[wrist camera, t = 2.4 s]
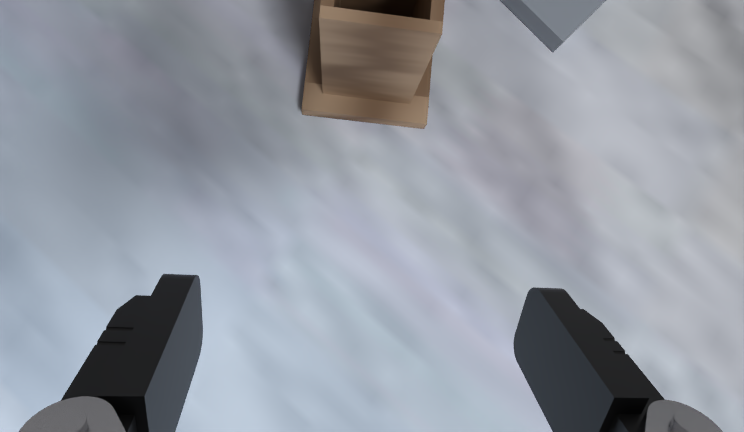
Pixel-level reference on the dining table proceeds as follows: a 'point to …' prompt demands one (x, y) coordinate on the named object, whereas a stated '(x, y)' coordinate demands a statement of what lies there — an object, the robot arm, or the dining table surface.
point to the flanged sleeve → (372, 60)
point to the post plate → (553, 17)
